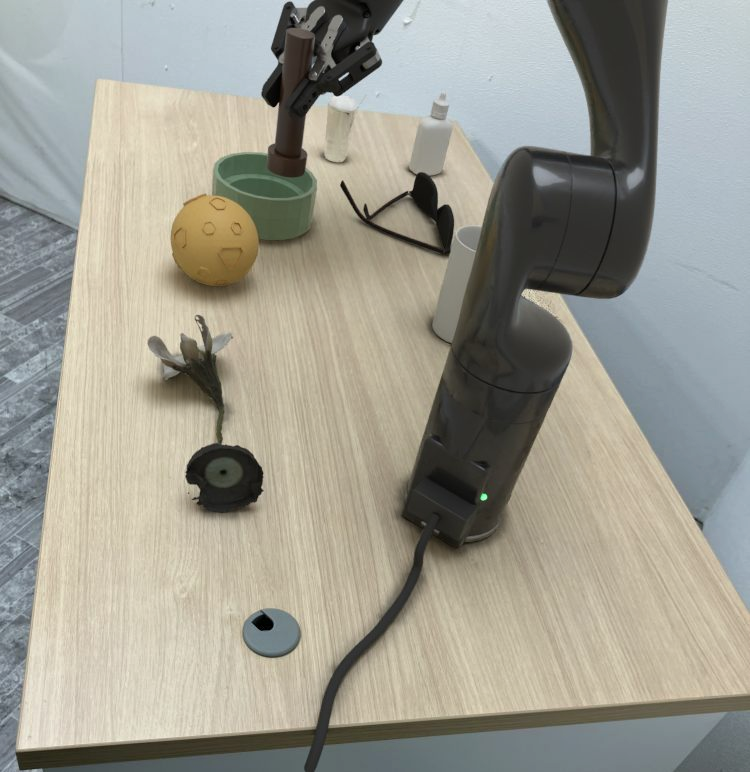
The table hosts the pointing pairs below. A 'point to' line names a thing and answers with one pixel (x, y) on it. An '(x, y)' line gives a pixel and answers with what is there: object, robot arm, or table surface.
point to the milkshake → (339, 126)
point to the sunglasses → (428, 203)
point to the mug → (455, 281)
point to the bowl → (266, 194)
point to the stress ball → (214, 240)
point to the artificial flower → (216, 461)
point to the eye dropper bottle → (432, 140)
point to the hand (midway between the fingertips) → (279, 107)
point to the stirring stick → (289, 133)
